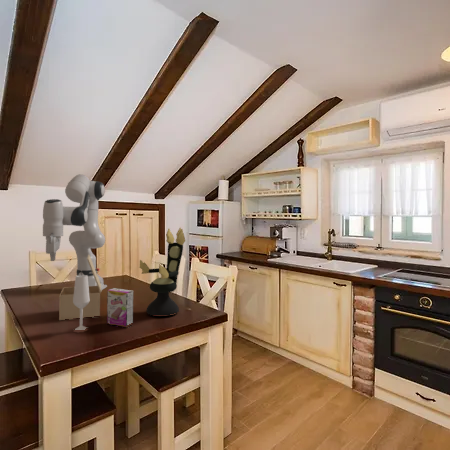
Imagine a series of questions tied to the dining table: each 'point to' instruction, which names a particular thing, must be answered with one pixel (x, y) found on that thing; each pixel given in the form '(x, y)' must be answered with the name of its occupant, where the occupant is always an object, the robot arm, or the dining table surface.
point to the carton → (71, 311)
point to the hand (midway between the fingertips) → (52, 260)
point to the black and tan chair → (166, 277)
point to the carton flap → (94, 272)
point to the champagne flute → (81, 296)
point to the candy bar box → (120, 306)
